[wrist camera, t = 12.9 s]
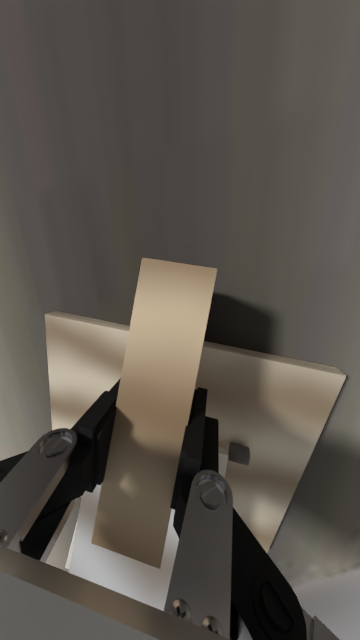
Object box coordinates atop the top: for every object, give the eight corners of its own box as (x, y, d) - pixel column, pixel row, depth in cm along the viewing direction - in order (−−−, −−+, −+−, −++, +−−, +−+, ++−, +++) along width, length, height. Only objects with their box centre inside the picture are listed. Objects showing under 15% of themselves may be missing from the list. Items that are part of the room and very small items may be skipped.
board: (55, 311, 15) (29, 318, 13) (336, 367, 12) (360, 388, 10) (63, 477, 20) (46, 501, 18) (262, 542, 18) (268, 580, 16)
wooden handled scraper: (125, 272, 12) (85, 249, 8) (258, 293, 11) (286, 279, 7) (73, 563, 13) (12, 674, 9) (195, 611, 12) (189, 763, 8)
